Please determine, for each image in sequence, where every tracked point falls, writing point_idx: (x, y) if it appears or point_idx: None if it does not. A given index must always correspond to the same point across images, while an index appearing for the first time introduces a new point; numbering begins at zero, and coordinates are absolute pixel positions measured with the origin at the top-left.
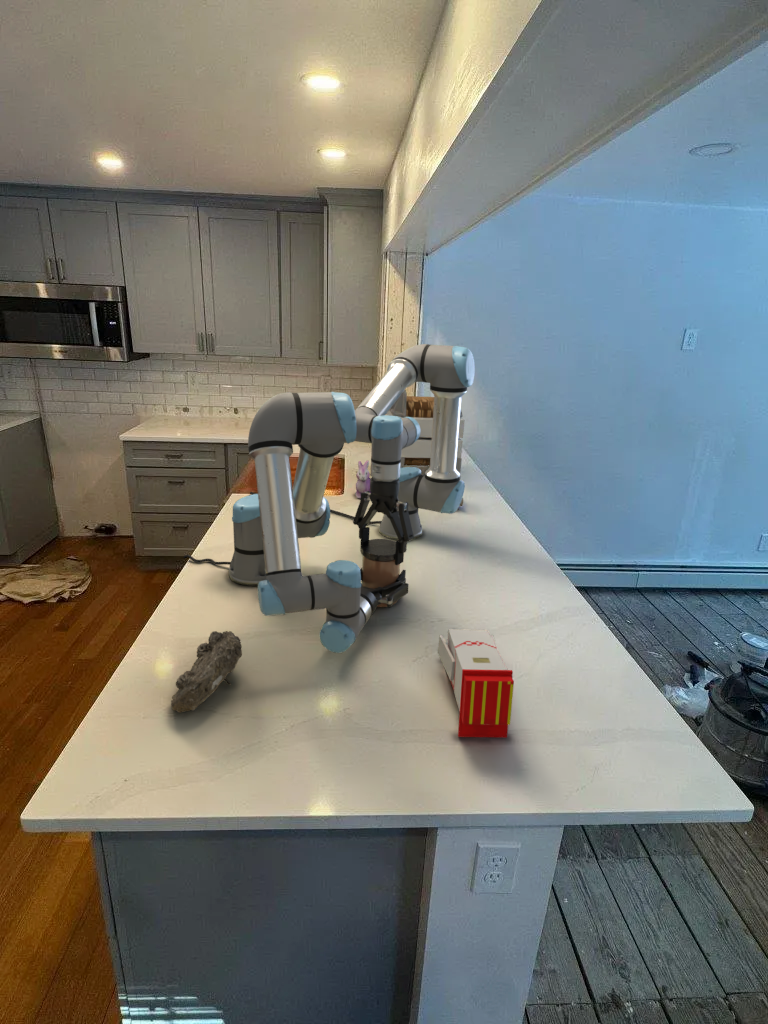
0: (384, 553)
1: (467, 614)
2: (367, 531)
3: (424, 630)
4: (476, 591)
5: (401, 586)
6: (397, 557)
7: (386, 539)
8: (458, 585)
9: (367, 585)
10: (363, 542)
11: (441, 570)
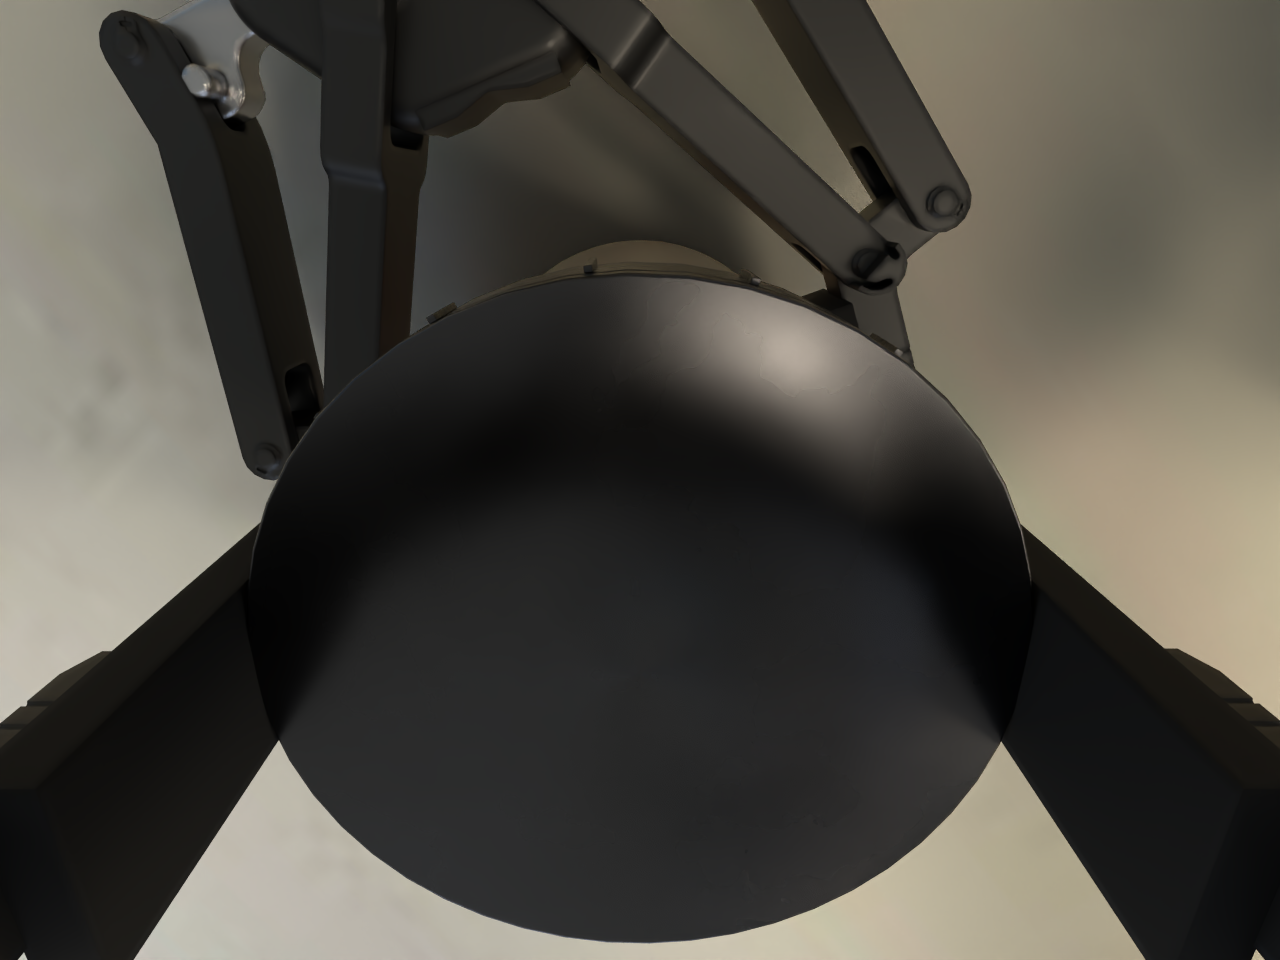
0: (389, 477)
1: (46, 618)
2: (1132, 858)
3: (43, 225)
4: (236, 871)
5: (258, 378)
6: (214, 565)
7: (769, 913)
8: (365, 867)
9: (656, 254)
10: (1034, 606)
11: (573, 947)
